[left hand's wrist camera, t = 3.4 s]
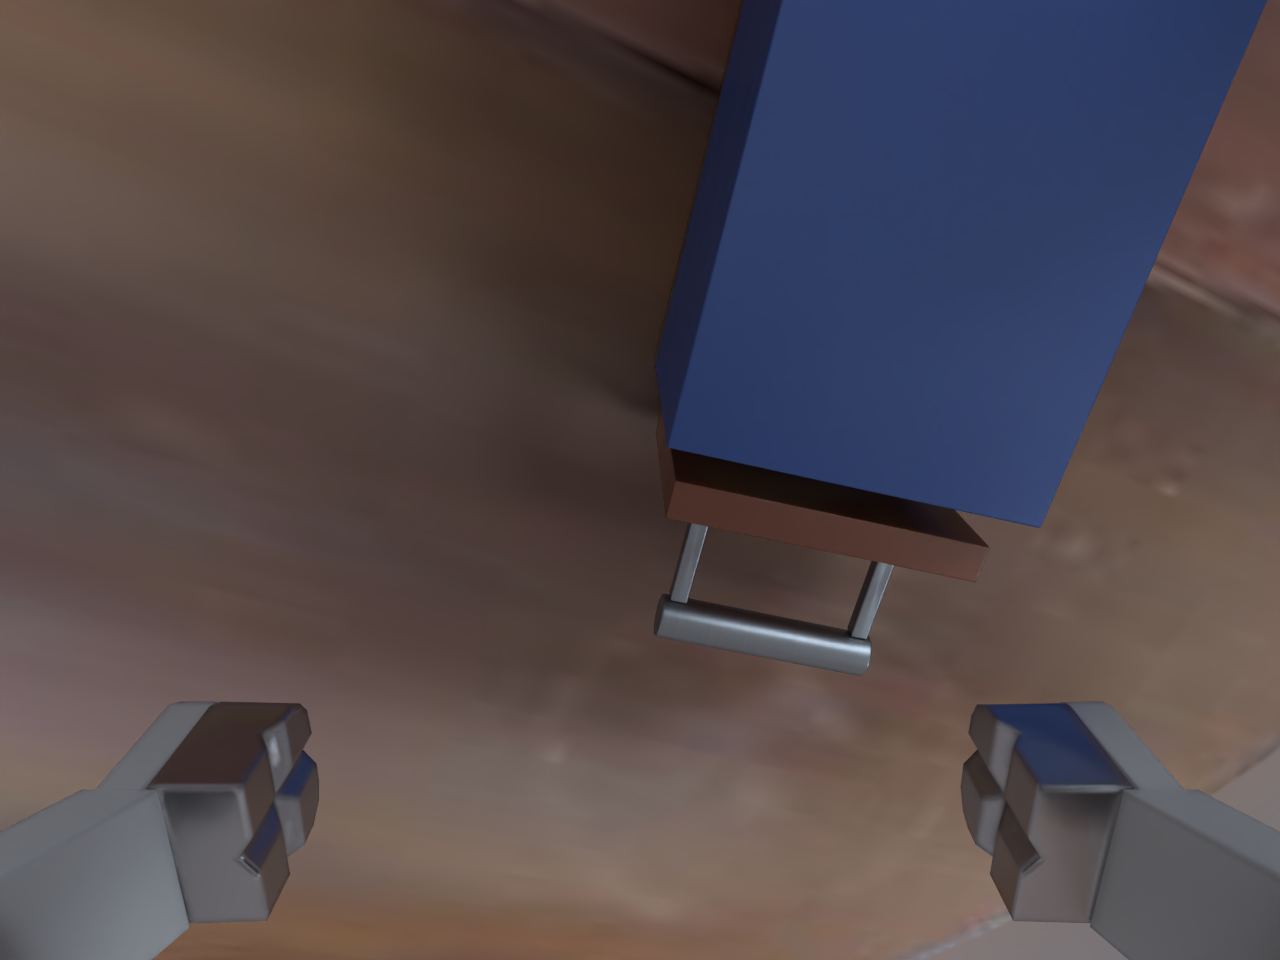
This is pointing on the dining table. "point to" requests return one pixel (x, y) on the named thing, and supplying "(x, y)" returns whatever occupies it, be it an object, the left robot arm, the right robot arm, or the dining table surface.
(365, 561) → the dining table surface
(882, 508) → the drawer
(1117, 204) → the navy blue box
